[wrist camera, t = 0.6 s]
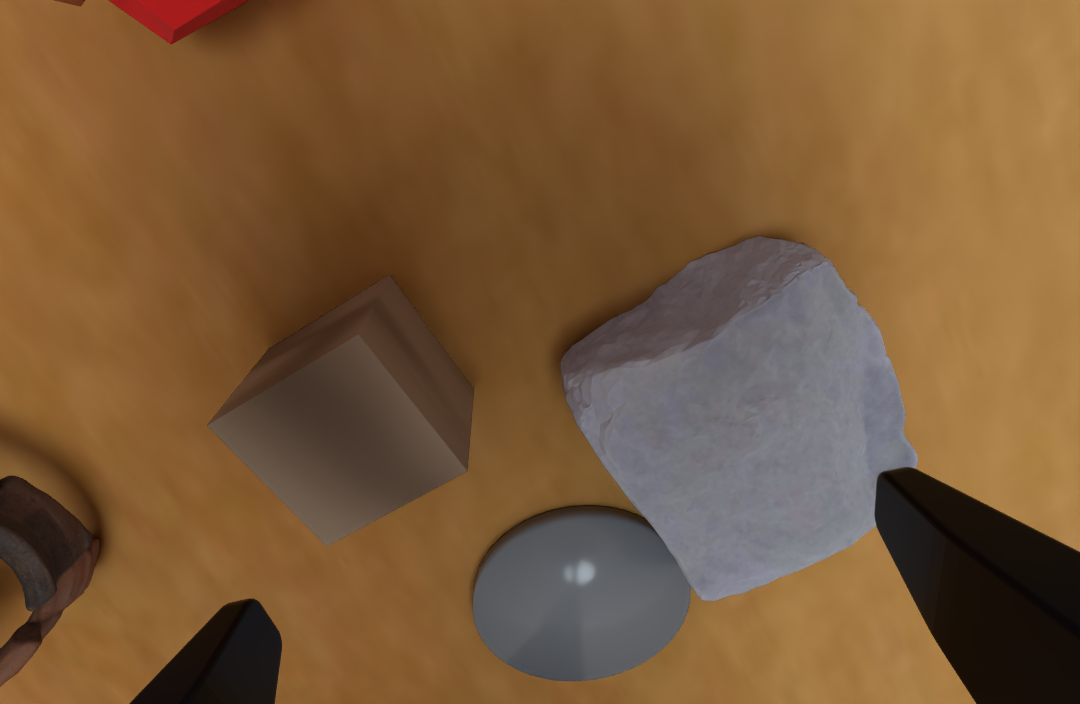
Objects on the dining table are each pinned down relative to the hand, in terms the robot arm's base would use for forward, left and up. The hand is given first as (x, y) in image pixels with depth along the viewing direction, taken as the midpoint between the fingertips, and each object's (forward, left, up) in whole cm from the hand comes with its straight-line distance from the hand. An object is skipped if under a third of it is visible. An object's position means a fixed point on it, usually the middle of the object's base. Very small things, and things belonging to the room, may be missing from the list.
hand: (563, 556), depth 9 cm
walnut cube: (-6, 0, -13) cm, 14 cm away
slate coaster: (-5, -13, -13) cm, 19 cm away
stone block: (+4, -8, -13) cm, 16 cm away
